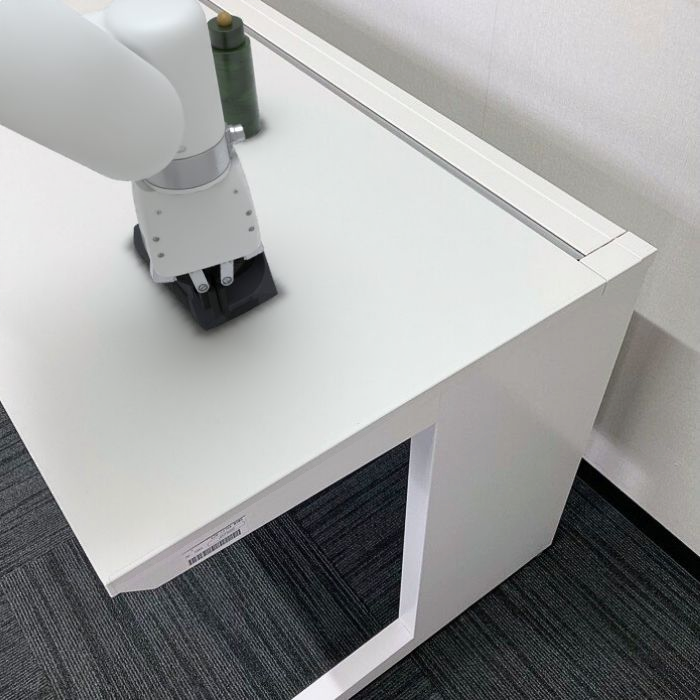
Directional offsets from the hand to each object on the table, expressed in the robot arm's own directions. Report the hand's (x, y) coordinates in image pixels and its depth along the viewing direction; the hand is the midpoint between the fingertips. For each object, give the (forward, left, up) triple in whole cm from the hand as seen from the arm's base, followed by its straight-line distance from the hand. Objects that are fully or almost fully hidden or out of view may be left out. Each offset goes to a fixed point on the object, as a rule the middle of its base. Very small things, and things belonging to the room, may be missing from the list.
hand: (218, 308), depth 76 cm
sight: (0, +10, -3) cm, 10 cm away
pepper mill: (+13, +35, -3) cm, 37 cm away
